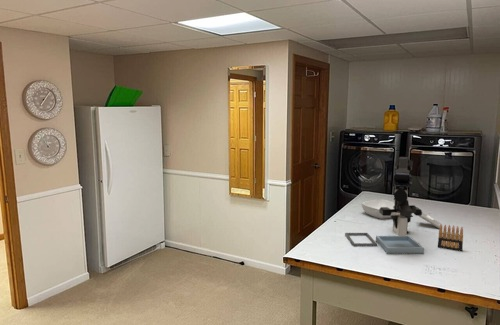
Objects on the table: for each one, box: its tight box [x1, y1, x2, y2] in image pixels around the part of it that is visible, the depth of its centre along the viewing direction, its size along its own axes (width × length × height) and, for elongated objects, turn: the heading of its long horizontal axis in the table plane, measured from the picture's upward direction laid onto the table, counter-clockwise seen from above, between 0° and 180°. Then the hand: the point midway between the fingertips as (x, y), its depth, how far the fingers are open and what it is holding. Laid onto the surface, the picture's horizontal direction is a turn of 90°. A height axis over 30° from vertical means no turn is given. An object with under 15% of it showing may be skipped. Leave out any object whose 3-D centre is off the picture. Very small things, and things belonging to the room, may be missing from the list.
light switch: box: [418, 211, 442, 229], centre depth 217 cm, size 8×6×14 cm
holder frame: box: [344, 232, 378, 247], centre depth 194 cm, size 12×17×1 cm
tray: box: [375, 235, 425, 255], centre depth 184 cm, size 17×17×3 cm
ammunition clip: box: [437, 223, 464, 252], centre depth 181 cm, size 11×2×12 cm, turn 58°
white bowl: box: [361, 199, 395, 220], centre depth 239 cm, size 20×20×8 cm
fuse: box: [392, 213, 408, 237], centre depth 182 cm, size 3×9×9 cm, turn 179°
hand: (399, 228), depth 183 cm, fingers closed on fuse, 3 cm apart
